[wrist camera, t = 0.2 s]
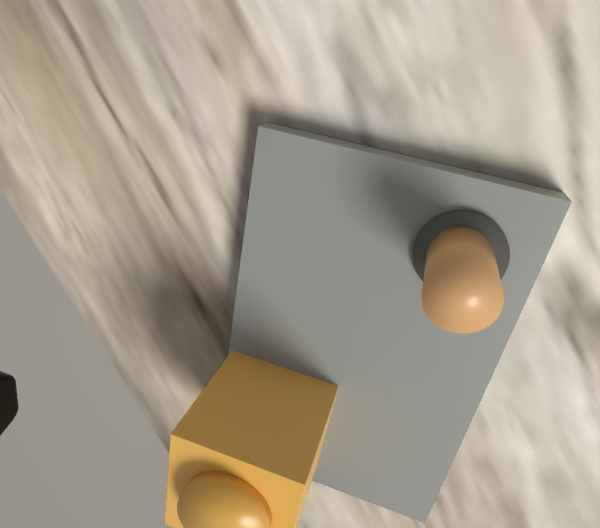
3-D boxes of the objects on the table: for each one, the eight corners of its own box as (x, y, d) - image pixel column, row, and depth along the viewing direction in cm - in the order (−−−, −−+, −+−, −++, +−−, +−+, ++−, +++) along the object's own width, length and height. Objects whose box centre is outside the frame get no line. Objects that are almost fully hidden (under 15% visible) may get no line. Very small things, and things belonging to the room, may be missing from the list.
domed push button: (316, 465, 25) (275, 592, 19) (221, 430, 26) (154, 540, 20) (338, 385, 23) (299, 502, 17) (232, 350, 24) (159, 448, 18)
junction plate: (425, 503, 26) (420, 600, 21) (225, 429, 28) (181, 502, 23) (564, 192, 18) (603, 240, 13) (268, 122, 20) (214, 142, 15)
